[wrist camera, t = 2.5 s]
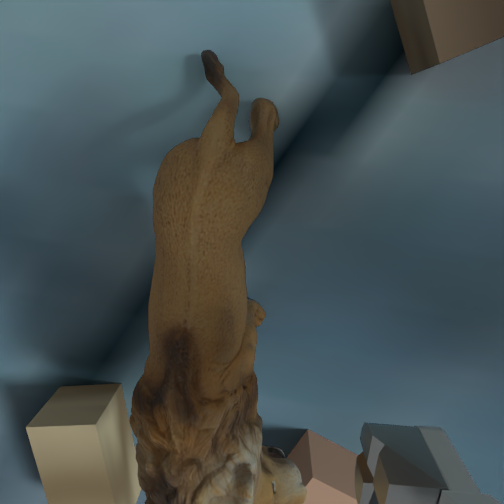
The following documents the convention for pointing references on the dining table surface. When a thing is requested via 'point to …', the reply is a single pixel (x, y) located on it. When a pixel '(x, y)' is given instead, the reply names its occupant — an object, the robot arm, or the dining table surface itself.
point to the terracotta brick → (325, 470)
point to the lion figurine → (208, 321)
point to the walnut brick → (445, 28)
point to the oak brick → (85, 446)
